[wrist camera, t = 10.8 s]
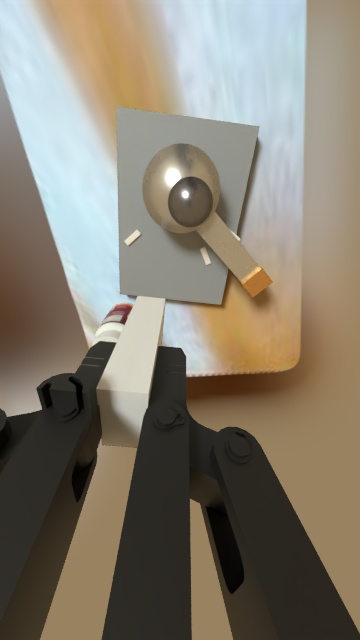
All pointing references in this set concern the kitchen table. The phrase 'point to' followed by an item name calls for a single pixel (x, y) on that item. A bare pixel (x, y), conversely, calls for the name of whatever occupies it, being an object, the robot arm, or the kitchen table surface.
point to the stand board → (151, 239)
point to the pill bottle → (113, 323)
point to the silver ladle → (196, 207)
